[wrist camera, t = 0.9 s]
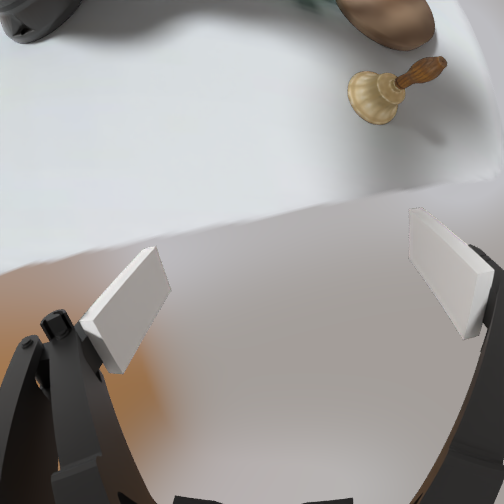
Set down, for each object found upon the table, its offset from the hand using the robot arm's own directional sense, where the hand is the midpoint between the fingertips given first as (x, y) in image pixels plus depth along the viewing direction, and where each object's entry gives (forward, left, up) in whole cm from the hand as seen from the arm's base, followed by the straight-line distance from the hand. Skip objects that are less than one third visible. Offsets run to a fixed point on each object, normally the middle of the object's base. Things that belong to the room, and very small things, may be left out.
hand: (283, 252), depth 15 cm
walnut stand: (-14, +41, -23) cm, 49 cm away
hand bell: (-2, +26, -23) cm, 35 cm away
